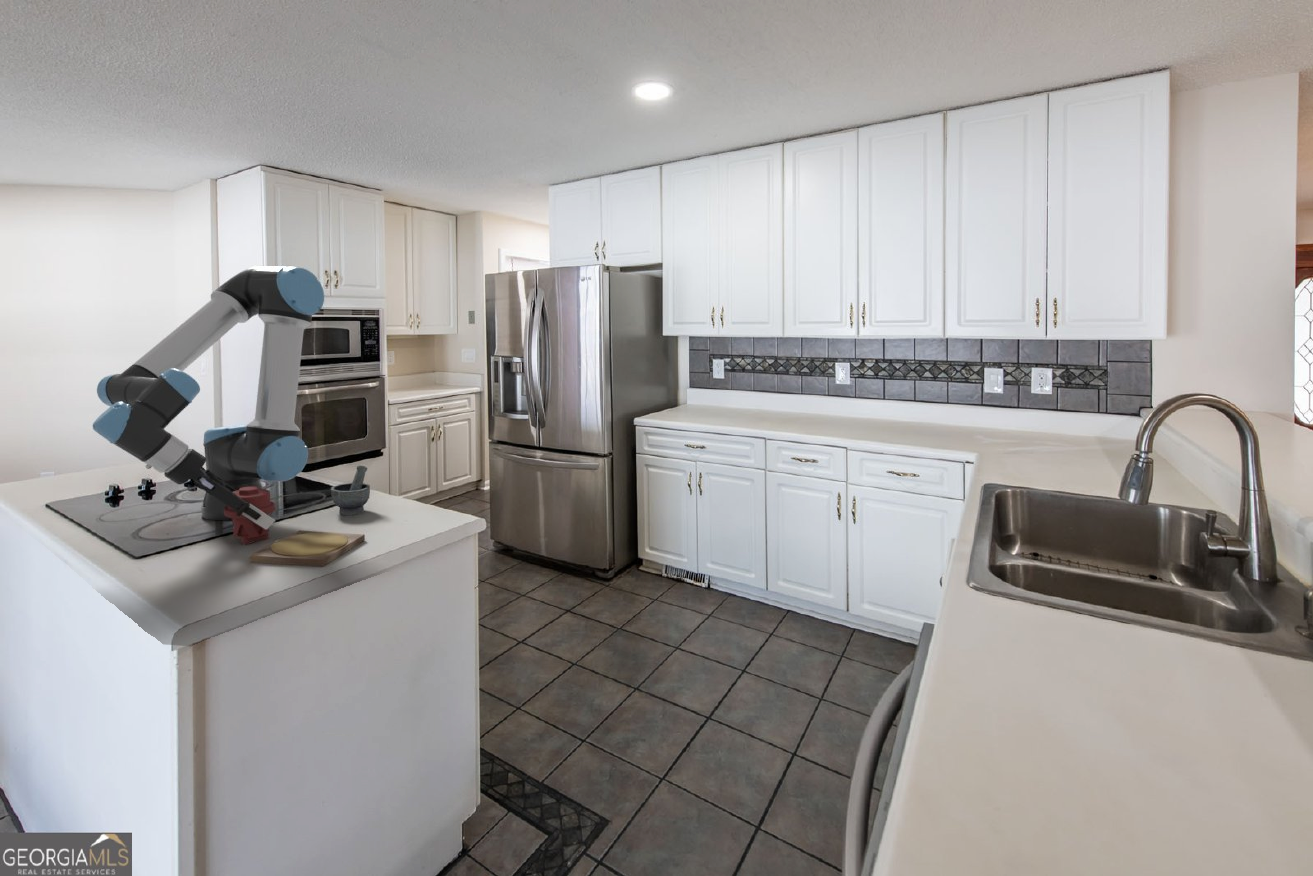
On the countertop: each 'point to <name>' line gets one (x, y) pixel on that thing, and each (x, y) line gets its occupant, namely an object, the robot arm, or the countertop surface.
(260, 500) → the mechanical component
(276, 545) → the marked board
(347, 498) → the mortar and pestle
